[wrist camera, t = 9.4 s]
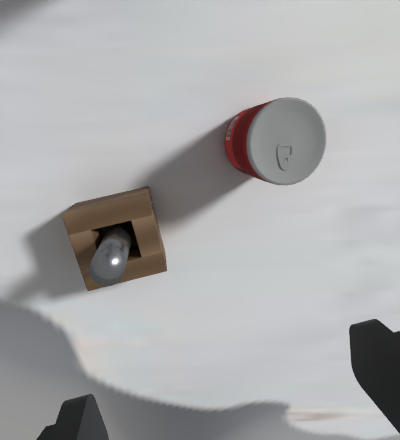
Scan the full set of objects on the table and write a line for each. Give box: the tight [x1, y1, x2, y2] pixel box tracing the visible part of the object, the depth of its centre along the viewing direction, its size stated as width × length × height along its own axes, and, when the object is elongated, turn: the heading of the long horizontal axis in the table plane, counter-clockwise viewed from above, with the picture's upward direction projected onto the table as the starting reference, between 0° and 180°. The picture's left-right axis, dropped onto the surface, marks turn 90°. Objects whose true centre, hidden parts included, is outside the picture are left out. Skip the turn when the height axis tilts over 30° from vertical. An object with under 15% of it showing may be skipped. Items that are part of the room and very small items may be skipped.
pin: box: [89, 221, 134, 286], centre depth 33 cm, size 3×3×12 cm
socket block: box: [62, 187, 167, 291], centre depth 37 cm, size 9×9×6 cm
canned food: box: [224, 97, 326, 185], centre depth 34 cm, size 8×8×11 cm
